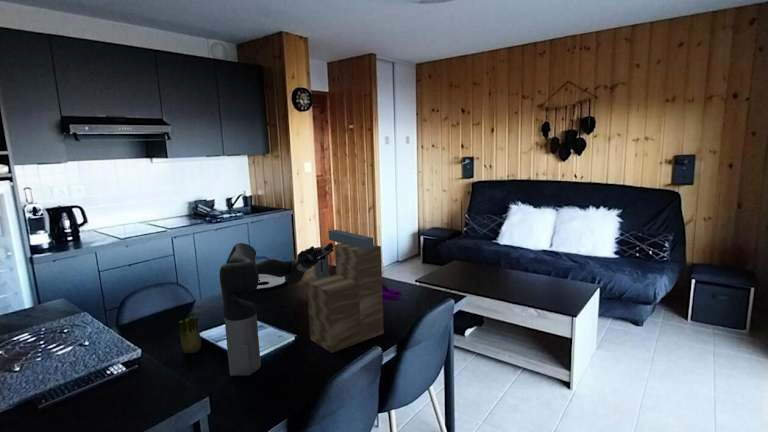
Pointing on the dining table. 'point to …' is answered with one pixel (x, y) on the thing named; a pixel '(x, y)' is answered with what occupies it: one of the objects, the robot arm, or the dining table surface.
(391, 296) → the cloth
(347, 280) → the plinth
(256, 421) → the dining table surface
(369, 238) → the blue-gray bar
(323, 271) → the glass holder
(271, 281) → the plate
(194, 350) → the fennel bulb
